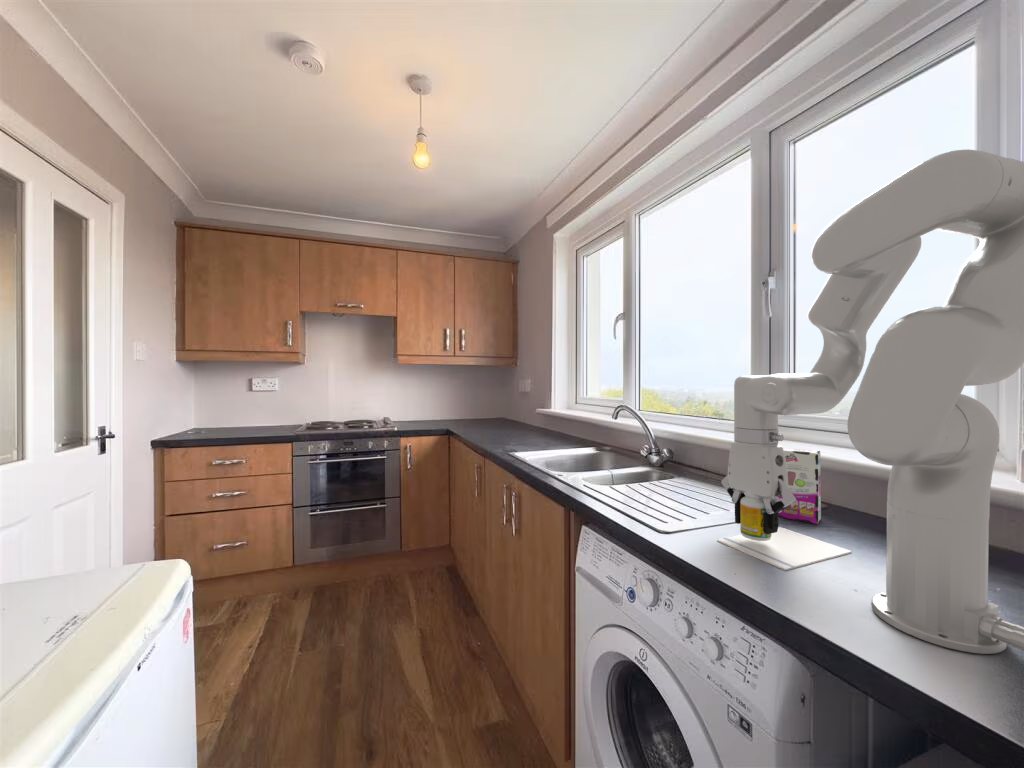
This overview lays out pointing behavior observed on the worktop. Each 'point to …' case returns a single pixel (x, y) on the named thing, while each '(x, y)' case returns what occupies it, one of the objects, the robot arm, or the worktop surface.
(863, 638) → the worktop surface
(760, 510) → the supplement bottle
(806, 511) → the candy bar box
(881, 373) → the robot arm
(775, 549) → the paper notebook
